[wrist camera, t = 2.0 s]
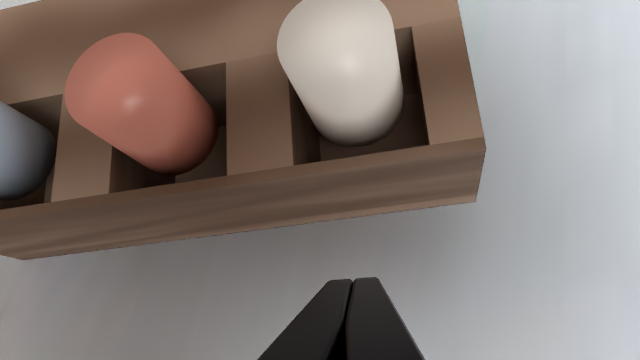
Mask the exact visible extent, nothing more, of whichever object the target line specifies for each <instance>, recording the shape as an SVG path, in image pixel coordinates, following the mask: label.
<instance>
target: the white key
mask: <svg viewBox="0 0 640 360" xmlns="http://www.w3.org/2000/svg"><path fill="white" fill-rule="evenodd" d="M277 53H278V57H279V61H280V63H281V65H282V67H283V69H284V71H285V73H286V74H287V76H288V78H289V80H290V82H291V83H292V85H293V87H294V89H295V91H296V93H297V94H298V96H299V98H300V100H301V102H302V103H303V105H304V107H305V109H306V111H307V112H308V114H309V116H310V118H311V120H312V121H313V123H314V125H315V127H316V128H317V130H318V131H319V133H320V134H321V135H322V136H323V137H324V138H326V139H327V140H329V141H330V142H332V143H334V144H336V145H340V146H344V147H363V146H368V145H371V144H374V143H376V142H378V141H380V140H381V139H383V138H384V137H386V136H387V135H388V134H389V133H390V132H391V131H392V130H393V129H394V128H395V127H396V125H397V124H398V122H399V120H400V118H401V116H402V113H403V109H404V92H403V86H402V79H401V73H400V66H399V59H398V53H397V46H396V40H395V33H394V27H393V22H392V18H391V15H390V13H389V11H388V10H387V8H386V6H385V5H384V4H383V3H382V2H381V1H380V0H302V1H301V2H300V3H299V4H297V5H296V6H295V7H294V8H293V9H292V10H291V11H290V13H289V14H288V15H287V17H286V18H285V20H284V21H283V23H282V25H281V28H280V30H279V34H278V39H277Z"/></svg>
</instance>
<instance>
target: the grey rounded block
mask: <svg viewBox="0 0 640 360" xmlns="http://www.w3.org/2000/svg"><path fill="white" fill-rule="evenodd" d="M55 157H56V144H55V140H54V137H53V135H52V134H51V132H50V131H49V130H48V129H47V128H46V127H44V126H42V125H41V124H39V123H37V122H36V121H34V120H32V119H30V118H29V117H27V116H25V115H24V114H22V113H20V112H18V111H17V110H15V109H13V108H12V107H10V106H8V105H6V104H5V103H3V102H1V101H0V199H1V200H5V201H13V200H18V199H21V198H24V197H26V196H28V195H30V194H31V193H33V192H34V191H35V190H37V189H38V188H39V187H40V186H41V185H42V184H43V182H44V181H45V180H46V179H47V177H48V176H49V174H50V172H51V170H52V168H53V165H54V162H55Z"/></svg>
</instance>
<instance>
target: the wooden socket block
mask: <svg viewBox="0 0 640 360" xmlns="http://www.w3.org/2000/svg"><path fill="white" fill-rule="evenodd" d="M301 1H302V0H41V1H37V2H32V3H28V4H24V5H19V6H15V7H11V8H7V9H2V10H0V101H1V102H3V103H5V104H6V105H8V106H10V107H12V108H13V109H15V110H17V111H18V112H20V113H22V114H24V115H25V116H27V117H29V118H30V119H32V120H34V121H36V122H37V123H39V124H41V125H42V126H44V127H46V128H47V129H48V130H49V131H50V132H51V134H52V135H53V137H54V140H55V144H56V157H55V162H54V165H53V168H52V170H51V172H50V174H49V176H48V177H47V179H46V180H45V181H44V182H43V184H42V185H41V186H40V187H39V188H38V189H37V190H35V191H34V192H33V193H31V194H30V195H28V196H26V197H24V198H21V199H18V200H13V201H5V200H1V199H0V255H4V256H8V257H12V258H16V259H21V260H27V259H35V258H43V257H50V256H58V255H66V254H74V253H81V252H89V251H97V250H105V249H112V248H120V247H128V246H136V245H143V244H151V243H159V242H167V241H174V240H182V239H190V238H198V237H205V236H213V235H221V234H229V233H236V232H244V231H252V230H259V229H267V228H275V227H283V226H290V225H298V224H306V223H314V222H321V221H329V220H337V219H345V218H352V217H360V216H368V215H376V214H383V213H391V212H399V211H407V210H414V209H422V208H430V207H438V206H445V205H453V204H461V203H469V202H476V197H477V192H478V187H479V182H480V177H481V172H482V167H483V162H484V157H485V152H486V145H485V139H484V134H483V129H482V124H481V119H480V114H479V109H478V104H477V99H476V94H475V88H474V83H473V78H472V73H471V68H470V63H469V58H468V53H467V48H466V43H465V37H464V32H463V27H462V22H461V17H460V12H459V7H458V2H457V0H380V1H381V2H382V3H383V4H384V5H385V6H386V8H387V10H388V11H389V13H390V15H391V18H392V22H393V27H394V33H395V40H396V46H397V53H398V59H399V66H400V73H401V79H402V86H403V92H404V109H403V113H402V116H401V118H400V120H399V122H398V124H397V125H396V127H395V128H394V129H393V130H392V131H391V132H390V133H389V134H388V135H387V136H386V137H384V138H383V139H381V140H380V141H378V142H376V143H374V144H371V145H368V146H363V147H344V146H340V145H336V144H334V143H332V142H330V141H329V140H327V139H326V138H324V137H323V136H322V135H321V134H320V133H319V131H318V130H317V128H316V127H315V125H314V123H313V121H312V120H311V118H310V116H309V114H308V112H307V111H306V109H305V107H304V105H303V103H302V102H301V100H300V98H299V96H298V94H297V93H296V91H295V89H294V87H293V85H292V83H291V82H290V80H289V78H288V76H287V74H286V73H285V71H284V69H283V67H282V65H281V63H280V61H279V57H278V53H277V39H278V34H279V30H280V28H281V25H282V23H283V21H284V20H285V18H286V17H287V15H288V14H289V13H290V11H291V10H292V9H293V8H294V7H295V6H296V5H297V4H299V3H300V2H301ZM119 33H135V34H139V35H142V36H144V37H146V38H148V39H150V40H151V41H152V42H153V43H154V44H155V45H156V46H157V47H158V48H159V49H160V50H161V51H162V53H163V54H164V55H165V56H166V57H167V58H168V59H169V60H170V61H171V62H172V63H173V65H174V66H175V67H176V68H177V69H178V70H179V71H180V72H181V73H182V74H183V75H184V77H185V78H186V79H187V80H188V81H189V82H190V83H191V84H192V85H193V86H194V87H195V89H196V90H197V91H198V92H199V93H200V94H201V95H202V96H203V97H204V98H205V99H206V101H207V102H208V103H209V104H210V105H211V106H212V107H213V109H214V111H215V113H216V115H217V118H218V125H219V130H218V137H217V140H216V143H215V145H214V148H213V149H212V151H211V153H210V154H209V155H208V157H207V158H206V159H205V160H204V161H203V162H202V163H201V164H200V165H199V166H197V167H196V168H194V169H193V170H191V171H189V172H187V173H184V174H180V175H175V176H165V175H160V174H157V173H155V172H153V171H151V170H149V169H148V168H146V167H145V166H143V165H142V164H140V163H139V162H137V161H136V160H134V159H132V158H131V157H129V156H128V155H126V154H125V153H123V152H122V151H120V150H119V149H117V148H115V147H114V146H112V145H111V144H109V143H108V142H106V141H105V140H103V139H102V138H100V137H98V136H97V135H95V134H94V133H92V132H91V131H89V130H88V129H86V128H84V127H83V126H81V125H80V124H79V123H77V122H76V121H75V120H74V119H73V118H72V117H71V115H70V114H69V112H68V109H67V107H66V103H65V86H66V81H67V78H68V75H69V73H70V71H71V69H72V67H73V65H74V64H75V62H76V61H77V59H78V58H79V57H80V56H81V55H82V54H83V53H84V52H85V51H86V50H87V49H88V48H89V47H90V46H92V45H93V44H95V43H96V42H98V41H99V40H101V39H103V38H105V37H108V36H111V35H114V34H119Z"/></svg>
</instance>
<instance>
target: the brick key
mask: <svg viewBox="0 0 640 360" xmlns="http://www.w3.org/2000/svg"><path fill="white" fill-rule="evenodd" d="M65 103H66V107H67V109H68V112H69V114H70V115H71V117H72V118H73V119H74V120H75V121H76V122H77V123H79V124H80V125H81V126H83V127H84V128H86V129H88V130H89V131H91V132H92V133H94V134H95V135H97V136H98V137H100V138H102V139H103V140H105V141H106V142H108V143H109V144H111V145H112V146H114V147H115V148H117V149H119V150H120V151H122V152H123V153H125V154H126V155H128V156H129V157H131V158H132V159H134V160H136V161H137V162H139V163H140V164H142V165H143V166H145V167H146V168H148V169H149V170H151V171H153V172H155V173H157V174H160V175H165V176H175V175H180V174H184V173H187V172H189V171H191V170H193V169H194V168H196V167H197V166H199V165H200V164H201V163H202V162H203V161H204V160H205V159H206V158H207V157H208V155H209V154H210V153H211V151H212V149H213V148H214V145H215V143H216V140H217V137H218V130H219V125H218V118H217V115H216V113H215V111H214V109H213V107H212V106H211V105H210V104H209V103H208V102H207V101H206V99H205V98H204V97H203V96H202V95H201V94H200V93H199V92H198V91H197V90H196V89H195V87H194V86H193V85H192V84H191V83H190V82H189V81H188V80H187V79H186V78H185V77H184V75H183V74H182V73H181V72H180V71H179V70H178V69H177V68H176V67H175V66H174V65H173V63H172V62H171V61H170V60H169V59H168V58H167V57H166V56H165V55H164V54H163V53H162V51H161V50H160V49H159V48H158V47H157V46H156V45H155V44H154V43H153V42H152V41H151V40H150V39H148V38H146V37H144V36H142V35H139V34H135V33H119V34H114V35H111V36H108V37H105V38H103V39H101V40H99V41H98V42H96V43H95V44H93V45H92V46H90V47H89V48H88V49H87V50H86V51H85V52H84V53H83V54H82V55H81V56H80V57H79V58H78V59H77V61H76V62H75V64H74V65H73V67H72V69H71V71H70V73H69V75H68V78H67V81H66V86H65Z"/></svg>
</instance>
